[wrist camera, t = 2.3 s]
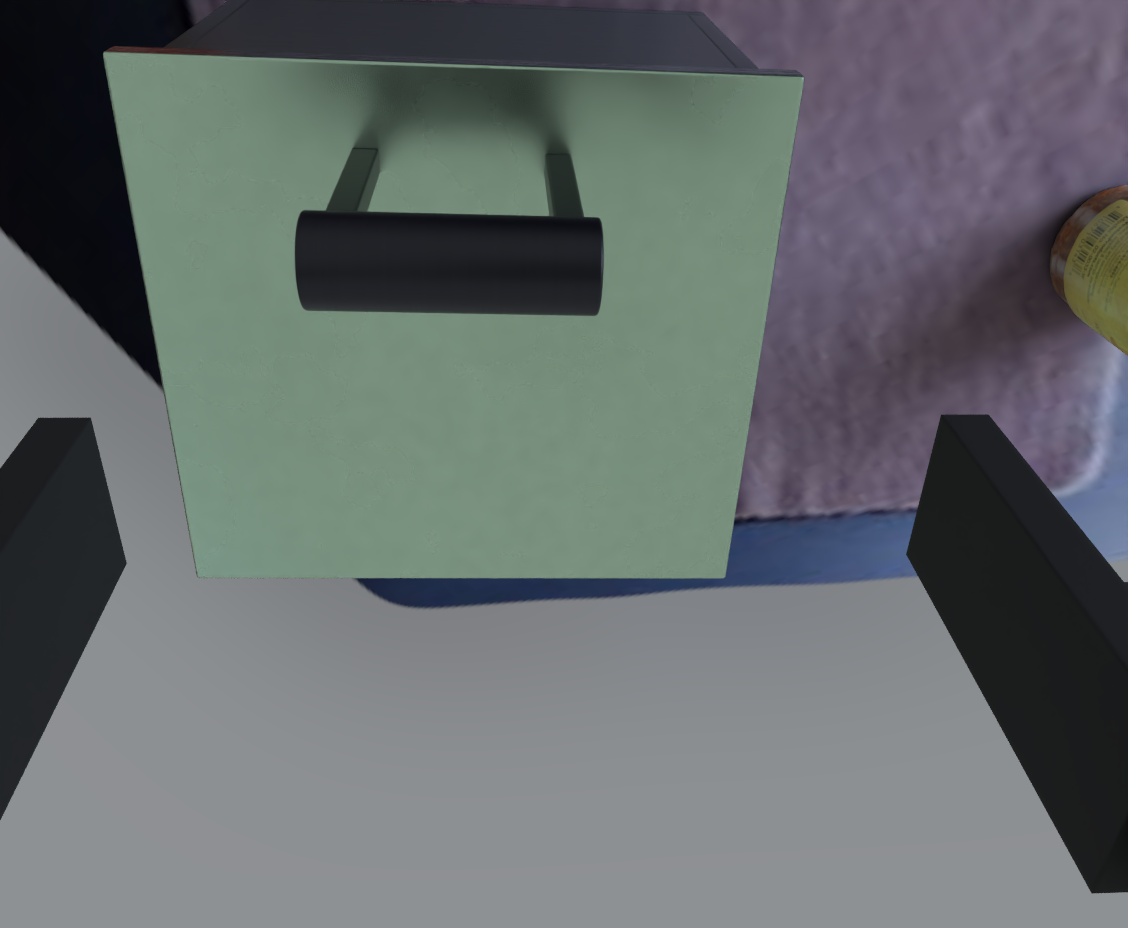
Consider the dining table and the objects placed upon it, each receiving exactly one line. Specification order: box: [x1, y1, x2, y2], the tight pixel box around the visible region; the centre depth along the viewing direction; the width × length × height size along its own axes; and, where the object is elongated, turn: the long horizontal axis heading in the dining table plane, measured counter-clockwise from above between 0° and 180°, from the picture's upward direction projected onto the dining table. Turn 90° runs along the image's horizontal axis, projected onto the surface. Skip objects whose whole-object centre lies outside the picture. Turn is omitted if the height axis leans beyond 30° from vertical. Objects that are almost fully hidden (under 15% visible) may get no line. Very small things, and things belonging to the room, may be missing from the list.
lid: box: [103, 46, 804, 578], centre depth 27 cm, size 16×17×9 cm
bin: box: [164, 0, 759, 69], centre depth 37 cm, size 15×17×14 cm
